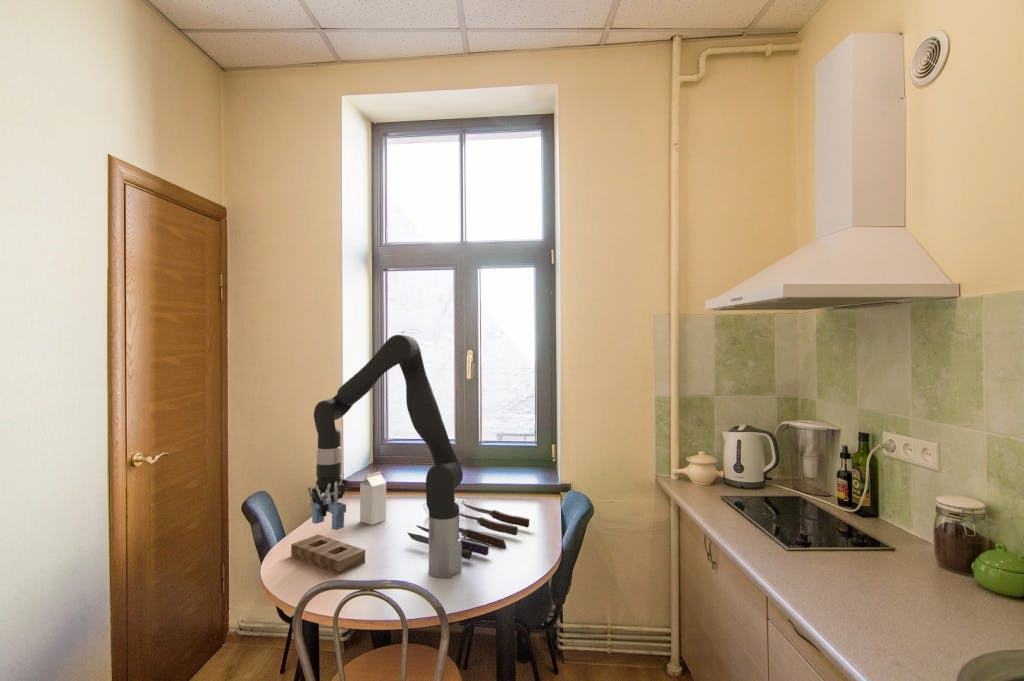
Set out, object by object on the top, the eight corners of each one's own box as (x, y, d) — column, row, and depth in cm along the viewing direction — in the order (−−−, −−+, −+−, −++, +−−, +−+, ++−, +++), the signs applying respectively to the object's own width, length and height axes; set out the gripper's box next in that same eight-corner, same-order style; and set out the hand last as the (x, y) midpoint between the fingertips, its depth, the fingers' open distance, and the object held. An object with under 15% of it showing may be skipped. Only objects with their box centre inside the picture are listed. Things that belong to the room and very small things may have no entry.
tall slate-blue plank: (345, 527, 153) (346, 504, 154) (337, 530, 151) (338, 506, 151) (318, 519, 161) (318, 496, 161) (310, 522, 158) (310, 499, 159)
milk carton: (386, 520, 192) (386, 472, 192) (371, 525, 186) (372, 476, 186) (374, 517, 196) (374, 469, 196) (359, 522, 190) (360, 473, 190)
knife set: (460, 512, 198) (461, 494, 197) (531, 532, 181) (531, 512, 180) (399, 543, 168) (400, 521, 167) (477, 571, 151) (477, 546, 150)
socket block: (365, 562, 153) (365, 549, 153) (338, 574, 145) (338, 561, 145) (317, 546, 166) (318, 534, 166) (291, 556, 158) (291, 544, 158)
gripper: (317, 466, 148) (316, 523, 148) (354, 458, 160) (353, 510, 160) (302, 463, 152) (301, 518, 152) (339, 455, 164) (338, 506, 164)
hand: (328, 514), depth 156 cm, fingers closed on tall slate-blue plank, 3 cm apart
